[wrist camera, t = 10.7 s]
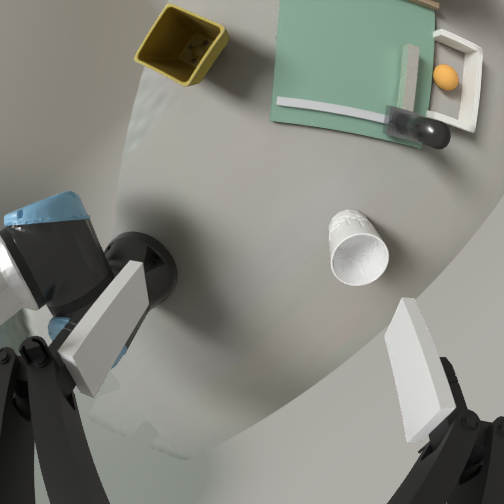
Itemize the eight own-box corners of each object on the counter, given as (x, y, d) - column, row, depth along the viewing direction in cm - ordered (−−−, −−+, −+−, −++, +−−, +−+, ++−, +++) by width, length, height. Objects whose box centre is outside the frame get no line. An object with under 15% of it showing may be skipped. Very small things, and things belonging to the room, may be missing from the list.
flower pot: (160, 64, 36) (131, 59, 28) (191, 17, 32) (167, 1, 24) (208, 89, 38) (186, 88, 30) (241, 41, 34) (227, 27, 26)
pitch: (270, 120, 39) (268, 121, 37) (283, -27, 27) (282, -34, 25) (418, 147, 37) (425, 151, 35) (431, 7, 25) (439, 3, 23)
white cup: (315, 235, 47) (319, 269, 38) (342, 195, 43) (354, 222, 34) (354, 258, 48) (364, 294, 39) (382, 221, 44) (400, 252, 35)
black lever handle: (381, 132, 36) (414, 147, 25) (391, 42, 29) (427, 25, 18) (413, 140, 35) (454, 159, 24) (423, 53, 28) (467, 42, 18)
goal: (422, 116, 35) (433, 118, 31) (430, 33, 28) (441, 28, 24) (461, 129, 34) (474, 133, 31) (469, 50, 27) (482, 48, 24)
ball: (438, 90, 33) (427, 83, 31) (441, 67, 31) (429, 59, 29) (461, 95, 30) (451, 89, 28) (463, 71, 28) (453, 63, 26)
